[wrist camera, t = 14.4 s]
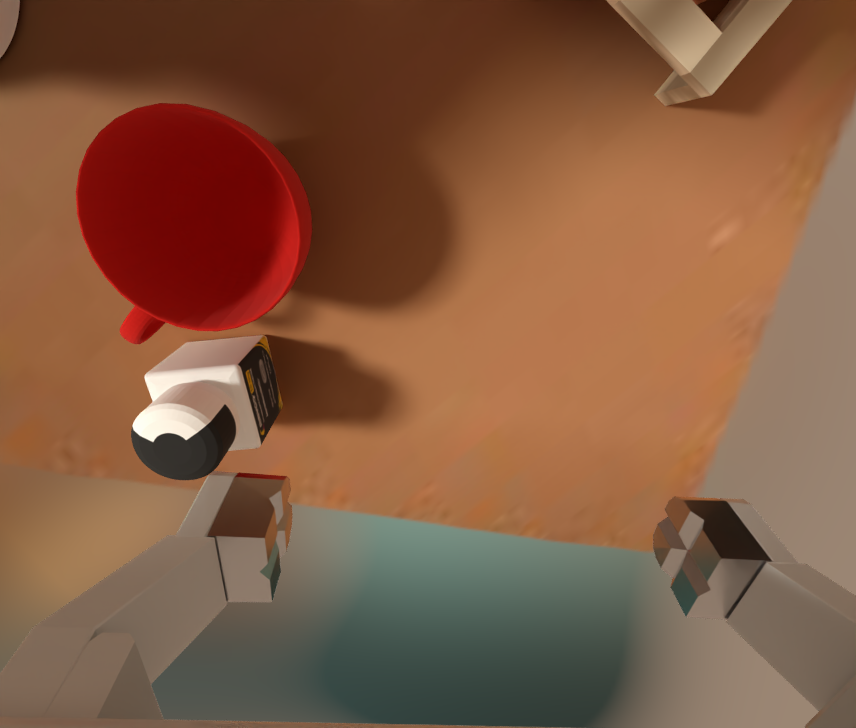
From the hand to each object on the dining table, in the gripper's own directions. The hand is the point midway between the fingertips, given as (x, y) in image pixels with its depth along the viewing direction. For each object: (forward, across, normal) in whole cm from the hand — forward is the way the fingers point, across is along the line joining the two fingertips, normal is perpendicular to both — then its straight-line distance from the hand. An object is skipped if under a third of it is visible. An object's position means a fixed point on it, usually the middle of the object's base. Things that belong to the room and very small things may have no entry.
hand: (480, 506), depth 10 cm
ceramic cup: (+31, +16, +4) cm, 35 cm away
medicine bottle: (+30, +16, +16) cm, 37 cm away
